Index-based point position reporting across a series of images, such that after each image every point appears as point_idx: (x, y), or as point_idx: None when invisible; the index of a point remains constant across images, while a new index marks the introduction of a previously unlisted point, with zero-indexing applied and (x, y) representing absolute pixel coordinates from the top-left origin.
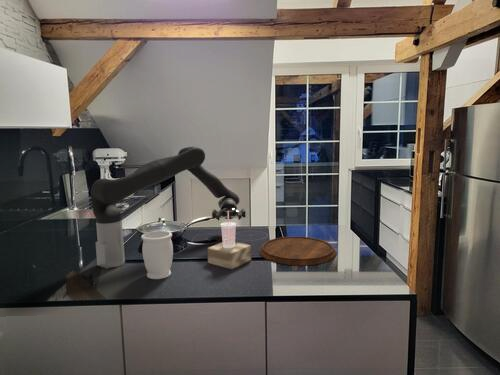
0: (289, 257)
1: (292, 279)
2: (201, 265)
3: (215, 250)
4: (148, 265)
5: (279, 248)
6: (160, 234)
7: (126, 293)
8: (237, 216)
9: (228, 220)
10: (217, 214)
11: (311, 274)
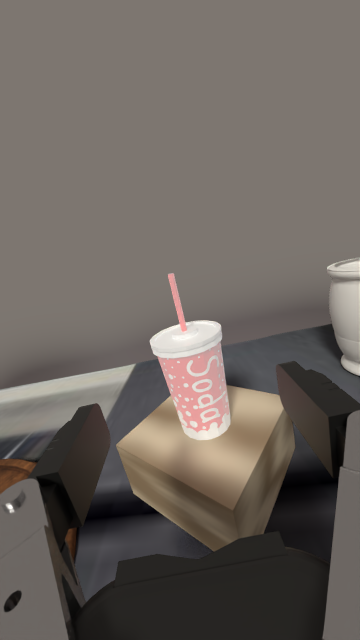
0: (9, 479)
1: (83, 400)
2: None
3: (248, 391)
4: None
5: None
6: None
7: None
8: (72, 565)
9: (180, 316)
10: (346, 412)
11: (33, 422)
